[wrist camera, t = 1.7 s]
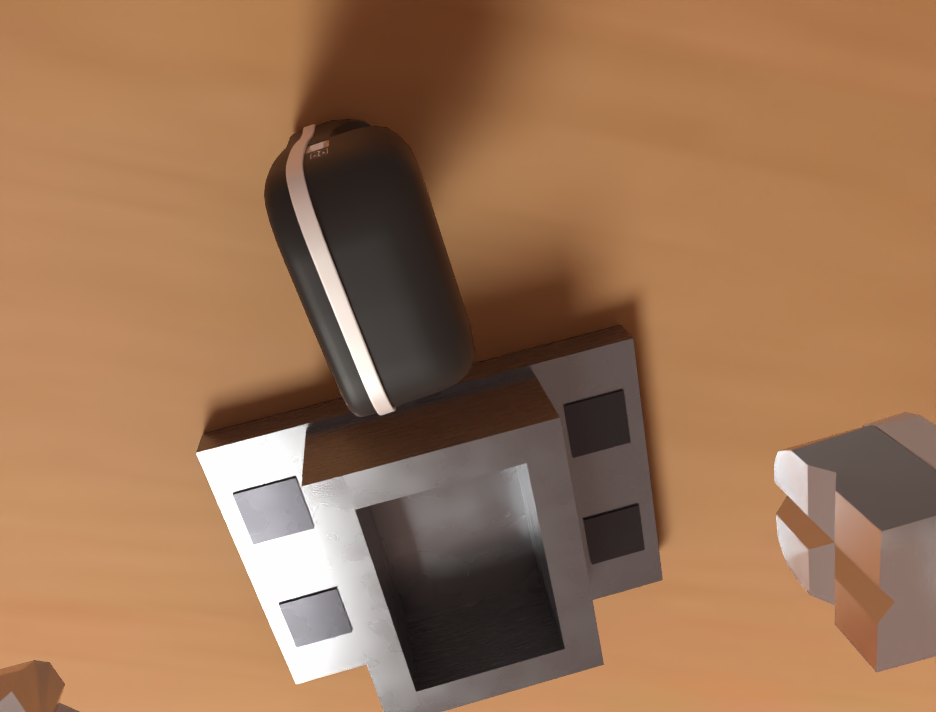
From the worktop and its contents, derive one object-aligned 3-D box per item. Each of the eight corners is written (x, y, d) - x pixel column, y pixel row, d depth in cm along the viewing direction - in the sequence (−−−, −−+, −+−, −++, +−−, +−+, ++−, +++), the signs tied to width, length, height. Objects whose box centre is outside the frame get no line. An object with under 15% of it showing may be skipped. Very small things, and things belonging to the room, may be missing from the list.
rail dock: (620, 325, 31) (673, 379, 26) (650, 559, 37) (699, 641, 32) (202, 434, 30) (175, 512, 25) (297, 659, 36) (290, 760, 31)
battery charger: (444, 272, 29) (502, 401, 19) (352, 303, 29) (360, 450, 19) (386, 94, 26) (417, 131, 16) (284, 128, 26) (248, 187, 16)
